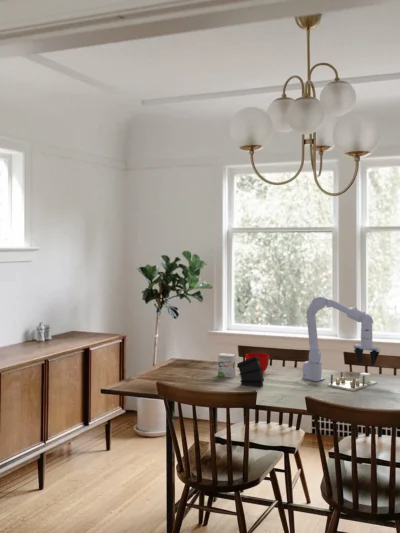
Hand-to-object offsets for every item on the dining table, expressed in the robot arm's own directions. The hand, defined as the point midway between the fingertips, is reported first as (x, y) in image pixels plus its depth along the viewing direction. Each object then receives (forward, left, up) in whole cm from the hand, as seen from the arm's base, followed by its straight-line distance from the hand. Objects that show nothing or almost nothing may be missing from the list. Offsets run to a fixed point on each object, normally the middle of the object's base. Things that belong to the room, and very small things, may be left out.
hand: (366, 364), depth 294 cm
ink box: (-59, -42, -10) cm, 73 cm away
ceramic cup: (-53, -22, -10) cm, 58 cm away
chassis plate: (-2, -15, -10) cm, 18 cm away
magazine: (-37, -49, -10) cm, 62 cm away
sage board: (0, -1, -10) cm, 10 cm away
